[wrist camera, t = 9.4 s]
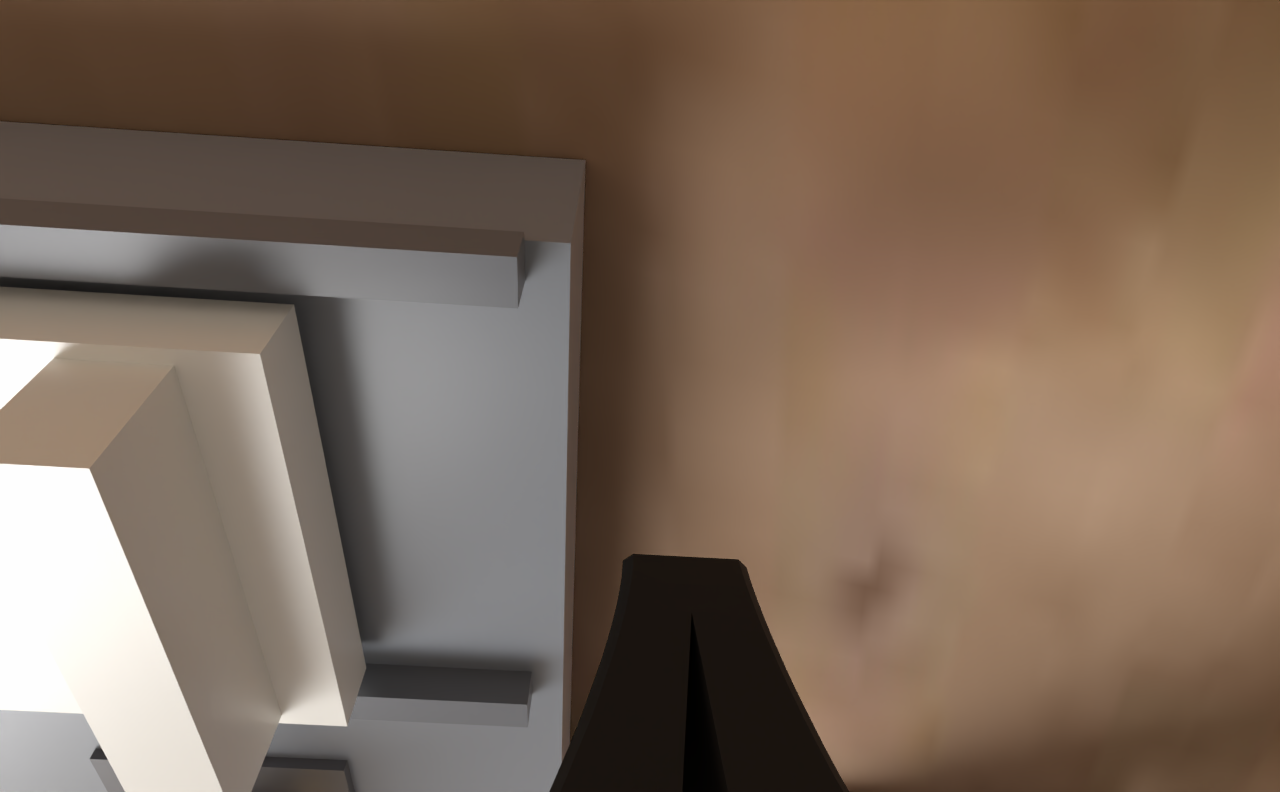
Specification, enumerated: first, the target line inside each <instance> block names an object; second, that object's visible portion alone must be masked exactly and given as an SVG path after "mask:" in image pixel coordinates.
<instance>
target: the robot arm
mask: <svg viewBox="0 0 1280 792" xmlns="http://www.w3.org/2000/svg"><path fill="white" fill-rule="evenodd" d="M549 792H849V791H848V789H847V787H846V786H845V784H844V782H843V780H842V779H841V777H840V775H839V773H838V771H837V769H836V767H835V766H834V764H833V762H832V760H831V758H830V756H829V754H828V753H827V751H826V749H825V747H824V745H823V743H822V741H821V739H820V737H819V735H818V733H817V731H816V729H815V727H814V725H813V723H812V721H811V719H810V717H809V715H808V713H807V711H806V709H805V707H804V705H803V703H802V701H801V699H800V697H799V695H798V693H797V691H796V689H795V687H794V685H793V683H792V681H791V678H790V676H789V674H788V672H787V670H786V668H785V665H784V663H783V661H782V659H781V656H780V654H779V652H778V649H777V647H776V645H775V643H774V640H773V638H772V636H771V633H770V631H769V628H768V626H767V624H766V621H765V619H764V616H763V614H762V611H761V608H760V606H759V603H758V601H757V598H756V595H755V592H754V589H753V587H752V584H751V581H750V578H749V574H748V571H747V568H746V567H745V566H744V565H743V564H742V563H741V562H740V561H739V560H737V559H718V558H699V557H680V556H661V555H642V554H633V555H631V556H630V557H628V558H626V559H625V560H623V567H622V579H621V585H620V591H619V596H618V602H617V606H616V610H615V615H614V618H613V622H612V626H611V630H610V633H609V636H608V640H607V643H606V646H605V650H604V653H603V657H602V660H601V662H600V665H599V668H598V671H597V674H596V676H595V679H594V682H593V685H592V688H591V690H590V693H589V696H588V699H587V702H586V704H585V707H584V710H583V713H582V716H581V718H580V721H579V723H578V726H577V728H576V731H575V733H574V736H573V738H572V740H571V742H570V745H569V747H568V749H567V752H566V754H565V756H564V759H563V761H562V763H561V766H560V768H559V770H558V773H557V775H556V777H555V780H554V782H553V784H552V787H551V789H550V791H549Z"/></svg>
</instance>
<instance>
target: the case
mask: <svg viewBox="0 0 1280 792" xmlns="http://www.w3.org/2000/svg"><path fill="white" fill-rule="evenodd" d="M585 164H586V160H577V159H561V158H546V157H531V156H516V155H501V154H486V153H471V152H456V151H441V150H426V149H411V148H396V147H381V146H365V145H350V144H335V143H320V142H305V141H290V140H275V139H260V138H245V137H230V136H215V135H200V134H185V133H170V132H154V131H139V130H124V129H109V128H94V127H79V126H64V125H49V124H34V123H19V122H4V121H0V287H15V288H32V289H48V290H64V291H81V292H97V293H113V294H130V295H146V296H162V297H179V298H195V299H212V300H228V301H244V302H261V303H277V304H293V305H294V307H295V312H296V317H297V322H298V327H299V332H300V337H301V342H302V347H303V352H304V357H305V362H306V367H307V372H308V377H309V382H310V387H311V392H312V397H313V403H314V408H315V413H316V418H317V423H318V428H319V433H320V438H321V443H322V448H323V453H324V458H325V463H326V468H327V473H328V478H329V483H330V488H331V493H332V498H333V503H334V508H335V513H336V518H337V523H338V528H339V533H340V538H341V543H342V548H343V553H344V558H345V563H346V568H347V573H348V578H349V583H350V588H351V593H352V599H353V604H354V609H355V614H356V619H357V624H358V629H359V634H360V639H361V644H362V649H363V654H364V659H365V664H366V670H365V674H364V677H363V680H362V683H361V686H360V689H359V692H358V695H357V698H356V701H355V704H354V707H353V711H352V714H351V717H350V720H349V723H348V726H327V725H307V724H286V723H278V726H277V728H276V731H275V733H274V736H273V739H272V741H271V744H270V746H269V749H268V751H267V754H266V756H265V759H264V761H263V764H262V766H261V769H260V771H259V774H258V776H257V779H256V781H255V784H254V786H253V789H252V791H251V792H549V791H550V789H551V787H552V784H553V782H554V780H555V777H556V775H557V773H558V770H559V768H560V766H561V763H562V761H563V759H564V756H565V754H566V752H567V749H568V747H569V745H570V718H571V681H572V644H573V607H574V570H575V533H576V496H577V459H578V423H579V386H580V349H581V312H582V275H583V238H584V201H585ZM0 792H125V791H124V789H123V787H122V785H121V783H120V781H119V780H118V778H117V776H116V774H115V772H114V770H113V768H112V767H111V765H110V763H109V761H108V759H107V757H106V755H105V754H104V752H103V750H102V748H101V746H100V744H99V742H98V741H97V739H96V737H95V735H94V733H93V731H92V729H91V728H90V726H89V724H88V722H87V720H86V718H85V716H84V714H78V713H57V712H36V711H15V710H0Z"/></svg>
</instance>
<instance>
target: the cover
mask: <svg viewBox="0 0 1280 792" xmlns="http://www.w3.org/2000/svg"><path fill="white" fill-rule="evenodd" d="M365 670H366V664H365V659H364V654H363V649H362V644H361V639H360V634H359V629H358V624H357V619H356V614H355V609H354V604H353V599H352V593H351V588H350V583H349V578H348V573H347V568H346V563H345V558H344V553H343V548H342V543H341V538H340V533H339V528H338V523H337V518H336V513H335V508H334V503H333V498H332V493H331V488H330V483H329V478H328V473H327V468H326V463H325V458H324V453H323V448H322V443H321V438H320V433H319V428H318V423H317V418H316V413H315V408H314V403H313V397H312V392H311V387H310V382H309V377H308V372H307V367H306V362H305V357H304V352H303V347H302V342H301V337H300V332H299V327H298V322H297V317H296V312H295V307H294V305H293V304H277V303H261V302H244V301H228V300H212V299H195V298H179V297H162V296H146V295H130V294H113V293H97V292H81V291H64V290H48V289H32V288H15V287H0V710H15V711H36V712H57V713H78V714H84V716H85V718H86V720H87V722H88V724H89V726H90V728H91V729H92V731H93V733H94V735H95V737H96V739H97V741H98V742H99V744H100V746H101V748H102V750H103V752H104V754H105V755H106V757H107V759H108V761H109V763H110V765H111V767H112V768H113V770H114V772H115V774H116V776H117V778H118V780H119V781H120V783H121V785H122V787H123V789H124V791H125V792H251V791H252V789H253V786H254V784H255V781H256V779H257V776H258V774H259V771H260V769H261V766H262V764H263V761H264V759H265V756H266V754H267V751H268V749H269V746H270V744H271V741H272V739H273V736H274V733H275V731H276V728H277V726H278V723H286V724H307V725H327V726H348V723H349V720H350V717H351V714H352V711H353V707H354V704H355V701H356V698H357V695H358V692H359V689H360V686H361V683H362V680H363V677H364V674H365Z"/></svg>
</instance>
